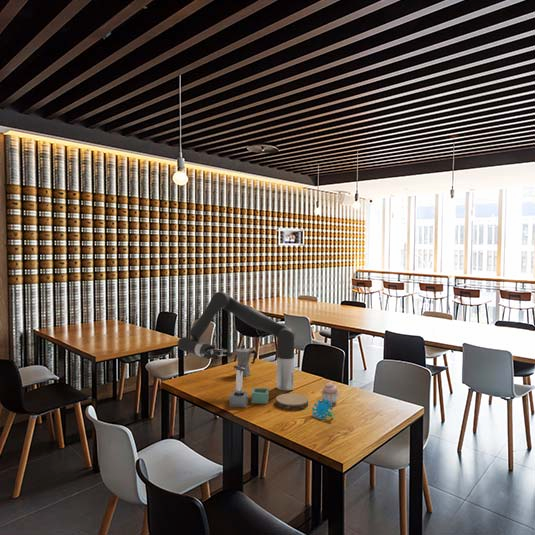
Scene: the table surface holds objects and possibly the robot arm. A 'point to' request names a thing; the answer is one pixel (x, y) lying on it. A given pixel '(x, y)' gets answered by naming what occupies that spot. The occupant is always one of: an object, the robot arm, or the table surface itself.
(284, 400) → the wood slice
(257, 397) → the key holder
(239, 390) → the chuck key
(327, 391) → the cupcake
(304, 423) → the table surface
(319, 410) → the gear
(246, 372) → the coffeepot
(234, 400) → the chuck block
